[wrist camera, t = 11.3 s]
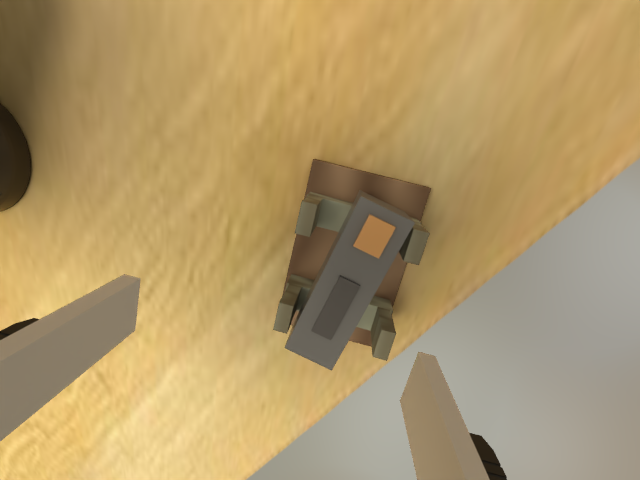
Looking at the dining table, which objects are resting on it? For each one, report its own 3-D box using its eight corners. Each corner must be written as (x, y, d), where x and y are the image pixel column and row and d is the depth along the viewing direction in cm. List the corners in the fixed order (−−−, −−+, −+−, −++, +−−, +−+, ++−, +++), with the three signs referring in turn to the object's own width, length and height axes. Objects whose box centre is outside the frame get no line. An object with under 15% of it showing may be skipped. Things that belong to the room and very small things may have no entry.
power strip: (295, 318, 37) (283, 350, 30) (359, 189, 33) (360, 196, 26) (335, 337, 37) (331, 373, 31) (404, 211, 33) (416, 223, 26)
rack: (278, 316, 41) (258, 357, 33) (314, 159, 36) (301, 158, 28) (378, 343, 41) (384, 392, 32) (428, 187, 36) (452, 195, 27)
